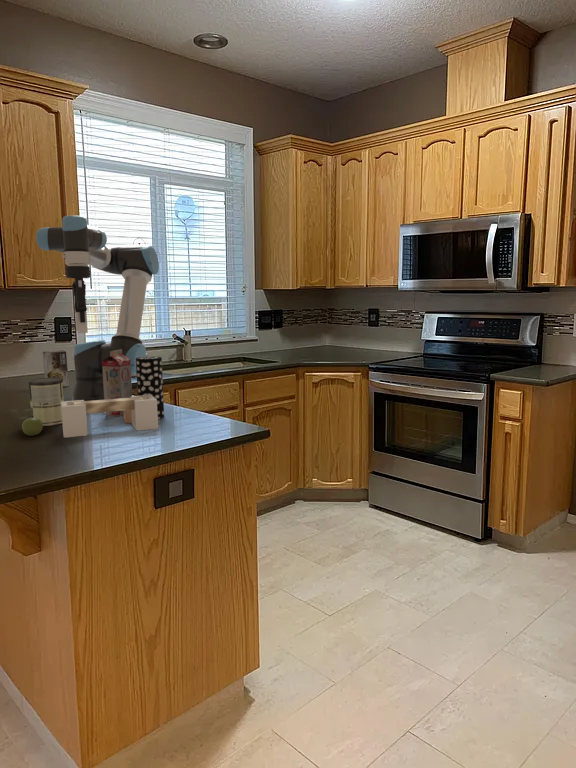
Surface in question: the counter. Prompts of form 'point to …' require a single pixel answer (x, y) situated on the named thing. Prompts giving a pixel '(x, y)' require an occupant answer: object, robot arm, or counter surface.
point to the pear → (32, 426)
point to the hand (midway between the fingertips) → (81, 331)
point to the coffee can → (46, 399)
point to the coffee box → (56, 365)
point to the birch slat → (109, 405)
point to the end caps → (77, 421)
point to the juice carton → (117, 378)
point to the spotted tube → (151, 380)
